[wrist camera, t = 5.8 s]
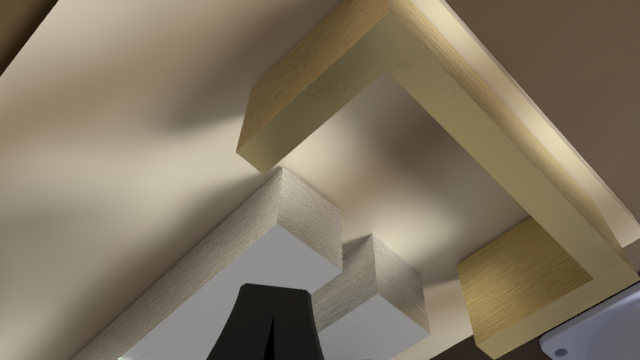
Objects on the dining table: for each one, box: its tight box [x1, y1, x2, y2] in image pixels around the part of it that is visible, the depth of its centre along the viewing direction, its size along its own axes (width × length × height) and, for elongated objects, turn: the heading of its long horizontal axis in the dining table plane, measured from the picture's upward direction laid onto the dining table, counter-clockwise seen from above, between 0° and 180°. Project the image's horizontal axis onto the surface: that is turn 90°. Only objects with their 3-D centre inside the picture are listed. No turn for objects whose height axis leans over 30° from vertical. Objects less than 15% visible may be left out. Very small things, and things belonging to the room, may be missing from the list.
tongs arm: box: [72, 167, 343, 360], centre depth 20 cm, size 2×14×4 cm, turn 137°
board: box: [0, 0, 640, 360], centre depth 22 cm, size 18×24×1 cm
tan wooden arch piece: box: [236, 0, 640, 360], centre depth 17 cm, size 10×5×4 cm, turn 45°
